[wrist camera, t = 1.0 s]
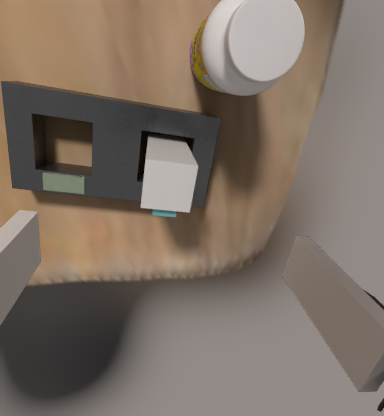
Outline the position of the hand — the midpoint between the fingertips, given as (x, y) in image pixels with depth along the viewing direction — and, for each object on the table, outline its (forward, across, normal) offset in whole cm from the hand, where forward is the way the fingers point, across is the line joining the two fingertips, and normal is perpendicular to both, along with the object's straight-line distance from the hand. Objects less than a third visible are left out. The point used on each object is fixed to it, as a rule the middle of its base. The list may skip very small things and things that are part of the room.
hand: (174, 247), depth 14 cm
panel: (+19, -5, 0) cm, 20 cm away
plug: (+19, 0, 0) cm, 19 cm away
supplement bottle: (+19, +4, +11) cm, 23 cm away
